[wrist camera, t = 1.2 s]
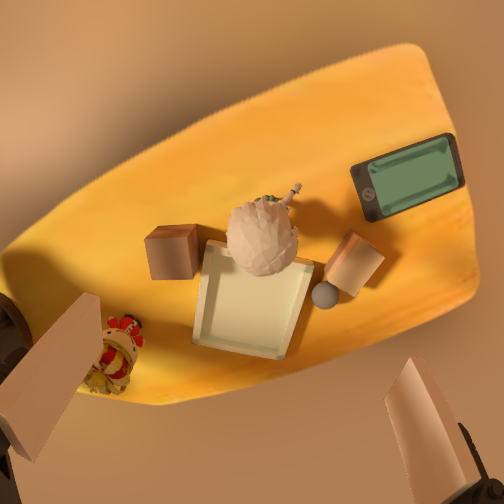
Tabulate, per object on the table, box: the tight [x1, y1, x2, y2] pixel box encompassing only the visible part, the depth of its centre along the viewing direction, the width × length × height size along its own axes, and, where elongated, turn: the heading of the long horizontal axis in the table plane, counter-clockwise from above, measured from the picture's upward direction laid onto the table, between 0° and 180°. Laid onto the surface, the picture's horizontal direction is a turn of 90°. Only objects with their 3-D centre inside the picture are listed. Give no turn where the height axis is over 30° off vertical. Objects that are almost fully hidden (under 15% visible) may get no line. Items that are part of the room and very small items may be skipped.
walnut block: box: [144, 224, 201, 280], centre depth 36 cm, size 5×5×5 cm
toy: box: [85, 314, 146, 395], centre depth 37 cm, size 7×7×15 cm
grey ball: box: [311, 281, 339, 309], centre depth 38 cm, size 4×4×4 cm
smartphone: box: [350, 133, 465, 222], centre depth 34 cm, size 7×1×15 cm
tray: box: [192, 239, 314, 361], centre depth 40 cm, size 13×15×2 cm
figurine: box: [225, 182, 303, 277], centre depth 29 cm, size 10×6×15 cm, turn 136°
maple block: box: [323, 229, 385, 297], centre depth 36 cm, size 4×6×4 cm, turn 149°
